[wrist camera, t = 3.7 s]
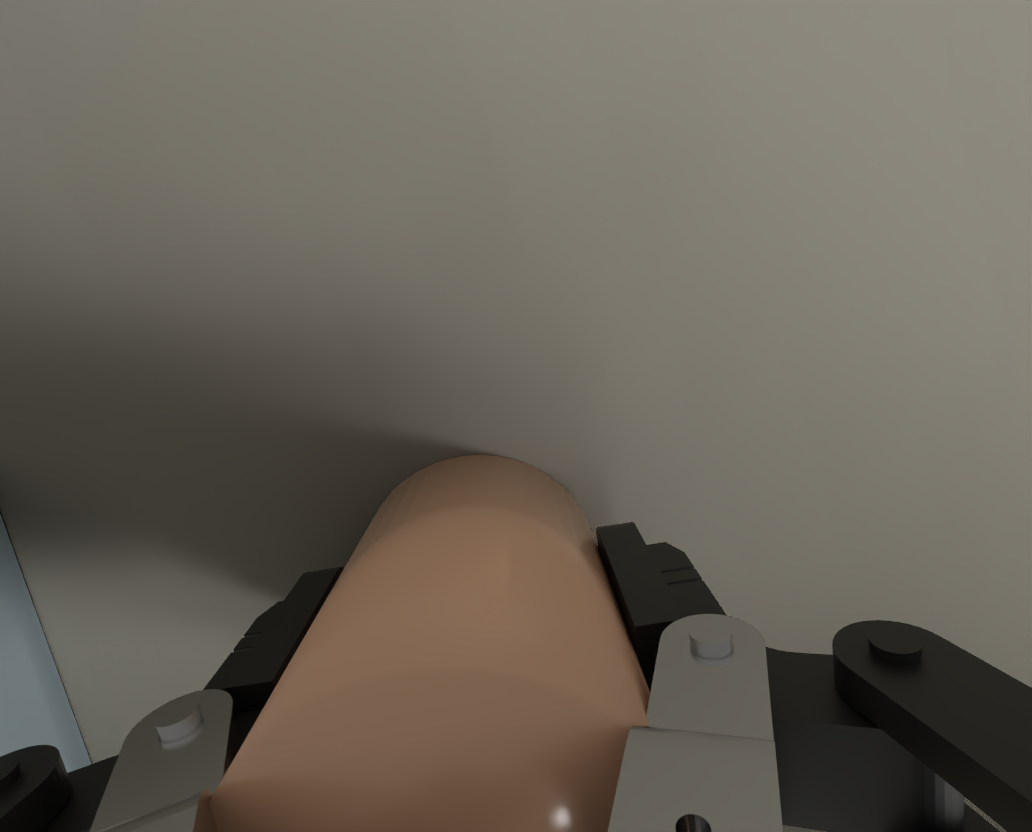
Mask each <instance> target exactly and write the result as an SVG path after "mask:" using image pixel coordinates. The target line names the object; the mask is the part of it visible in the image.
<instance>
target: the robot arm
mask: <svg viewBox="0 0 1032 832" xmlns="http://www.w3.org/2000/svg"><path fill="white" fill-rule="evenodd" d="M596 533H597V542H598V549H599V551H600V554H601V557H602V560H603V563H604V566H605V568H606V571H607V574H608V577H609V580H610V582H611V585H612V588H613V591H614V594H615V596H616V599H617V602H618V605H619V608H620V610H621V613H622V616H623V619H624V622H625V624H626V627H627V630H628V633H629V636H630V638H631V641H632V644H633V647H634V650H635V652H636V655H637V658H638V661H639V664H640V666H641V669H642V672H643V675H644V677H645V680H646V683H647V686H648V688H649V691H650V698H649V703H648V709H647V714H646V717H647V720H648V723H649V726H650V727H649V726H640V725H632V726H631V728H630V730H629V733H628V737H627V741H626V746H625V751H624V756H623V760H622V765H621V770H620V775H619V779H618V784H617V789H616V794H615V798H614V803H613V808H612V813H611V818H610V822H609V827H608V832H783V826H782V825H788V826H795V827H801V828H808V829H815V830H821V831H828V832H1000V831H998V830H997V829H996V828H995V827H994V826H992V825H991V824H990V823H989V822H987V821H986V820H985V819H984V818H983V817H981V816H980V815H979V814H978V813H976V812H975V811H974V810H973V809H972V808H970V807H969V806H968V805H967V804H965V803H964V796H965V797H966V798H967V799H968V800H970V801H971V802H972V803H973V804H974V805H976V806H977V807H978V808H979V809H981V810H982V811H983V812H984V813H986V814H987V815H988V816H989V817H991V818H992V819H993V820H994V821H996V822H997V823H998V824H999V825H1001V826H1002V827H1003V828H1004V829H1005V830H1006V831H1007V832H1032V688H1031V687H1029V686H1027V685H1025V684H1023V683H1022V682H1020V681H1018V680H1016V679H1015V678H1013V677H1011V676H1009V675H1008V674H1006V673H1004V672H1002V671H1000V670H999V669H997V668H995V667H993V666H992V665H990V664H988V663H986V662H984V661H983V660H981V659H979V658H977V657H976V656H974V655H972V654H970V653H968V652H967V651H965V650H963V649H961V648H960V647H958V646H956V645H954V644H952V643H951V642H949V641H947V640H945V639H944V638H942V637H940V636H938V635H936V634H934V633H932V632H930V631H927V630H925V629H922V628H920V627H916V626H913V625H909V624H905V623H900V622H893V621H881V620H875V621H863V622H857V623H853V624H850V625H848V626H846V627H844V628H842V629H841V630H839V631H838V632H837V633H836V634H835V636H834V638H833V644H832V647H833V655H825V654H808V653H794V652H785V651H780V650H775V649H772V648H768V647H765V642H764V639H763V637H762V635H761V634H760V633H759V631H758V630H757V629H755V628H754V627H753V626H752V625H750V624H748V623H746V622H745V621H742V620H740V619H737V618H734V617H730V616H727V615H726V614H725V612H724V611H723V609H722V608H721V606H720V605H719V603H718V602H717V600H716V599H715V597H714V596H713V594H712V593H711V591H710V590H709V588H708V587H707V585H706V584H705V582H704V581H702V578H701V577H700V575H699V574H698V572H697V571H696V569H694V566H693V565H692V563H691V562H690V560H689V559H688V557H687V556H686V554H685V553H684V552H683V551H681V550H679V549H677V548H675V547H673V546H672V545H670V544H668V543H666V542H664V543H657V544H651V545H646V544H645V542H644V540H643V538H642V536H641V534H640V533H639V531H638V529H637V527H636V525H635V524H634V522H630V523H624V524H617V525H611V526H604V527H598V528H597V529H596ZM343 569H344V568H343V567H338V568H332V569H325V570H319V571H313V572H306V573H304V574H303V575H302V576H301V577H300V579H299V580H298V582H297V583H296V584H295V586H294V587H293V589H292V590H291V592H290V593H289V594H288V596H287V597H286V599H285V600H284V601H280V602H278V603H276V604H275V605H274V606H272V607H271V608H270V609H268V610H267V611H266V612H264V613H263V614H262V615H260V616H259V617H258V618H257V619H256V620H255V621H254V623H253V624H252V625H251V627H250V628H249V629H248V631H247V632H246V633H245V635H244V636H245V637H244V638H242V639H241V640H240V641H239V643H238V644H237V645H236V647H235V648H234V653H230V655H229V656H228V657H227V659H226V660H225V661H224V663H223V664H222V665H221V667H220V668H219V669H218V671H217V672H216V673H215V675H214V676H213V677H212V679H211V680H210V681H209V683H208V684H207V685H206V687H205V688H204V689H203V690H201V691H196V692H193V693H189V694H186V695H184V696H181V697H178V698H176V699H174V700H172V701H170V702H168V703H166V704H164V705H162V706H160V707H159V708H157V709H156V710H154V711H153V712H151V713H150V714H148V715H147V716H146V717H144V718H143V719H142V720H141V721H140V722H139V723H137V724H136V726H135V727H134V728H133V729H132V730H131V731H130V732H129V734H128V735H127V737H126V739H125V741H124V743H123V745H122V748H121V751H120V753H119V755H117V756H114V757H111V758H108V759H105V760H102V761H100V762H97V763H94V764H91V765H88V766H85V767H83V768H80V769H77V770H74V771H71V772H68V773H67V771H66V768H65V765H64V763H63V760H62V757H61V755H60V752H59V750H58V749H57V748H56V747H54V746H52V745H36V746H30V747H26V748H22V749H19V750H16V751H13V752H10V753H8V754H6V755H3V756H1V757H0V832H218V829H217V826H216V823H215V820H214V817H213V814H212V811H211V808H210V801H211V799H212V796H213V794H214V793H215V791H216V789H217V787H218V786H219V784H220V782H221V781H222V779H223V777H224V775H225V774H226V772H227V770H228V768H229V767H230V765H231V763H232V761H233V760H234V758H235V756H236V755H237V753H238V751H239V749H240V748H241V746H242V744H243V742H244V741H245V739H246V737H247V735H248V734H249V732H250V730H251V729H252V727H253V725H254V723H255V722H256V720H257V718H258V716H259V715H260V713H261V711H262V709H263V708H264V706H265V704H266V703H267V701H268V699H269V697H270V696H271V694H272V692H273V690H274V689H275V687H276V685H277V683H278V682H279V680H280V678H281V677H282V675H283V673H284V671H285V670H286V668H287V666H288V664H289V663H290V661H291V659H292V658H293V656H294V654H295V652H296V651H297V649H298V647H299V645H300V644H301V642H302V640H303V638H304V637H305V635H306V633H307V632H308V630H309V628H310V626H311V625H312V623H313V621H314V619H315V618H316V616H317V614H318V612H319V611H320V609H321V607H322V606H323V604H324V602H325V600H326V599H327V597H328V595H329V593H330V592H331V590H332V588H333V586H334V585H335V583H336V581H337V580H338V578H339V576H340V574H341V573H342V571H343Z"/></svg>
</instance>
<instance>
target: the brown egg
mask: <svg viewBox="0 0 1032 832" xmlns="http://www.w3.org/2000/svg"><path fill="white" fill-rule="evenodd" d="M649 698H650V691H649V688H648V686H647V683H646V680H645V677H644V675H643V672H642V669H641V666H640V664H639V661H638V658H637V655H636V652H635V650H634V647H633V644H632V641H631V638H630V636H629V633H628V630H627V627H626V624H625V622H624V619H623V616H622V613H621V610H620V608H619V605H618V602H617V599H616V596H615V594H614V591H613V588H612V585H611V582H610V580H609V577H608V574H607V571H606V568H605V566H604V563H603V560H602V557H601V554H600V551H599V549H598V546H597V543H596V540H595V537H594V534H593V532H592V529H591V526H590V524H589V521H588V519H587V518H586V516H585V514H584V512H583V510H582V508H581V507H580V506H579V504H578V503H577V502H576V500H575V499H574V497H573V496H572V495H571V494H570V493H569V492H568V491H567V490H566V489H565V488H564V487H563V486H562V485H561V484H559V483H558V482H557V481H556V480H554V479H553V478H552V477H551V476H549V475H547V474H546V473H544V472H542V471H541V470H539V469H537V468H535V467H533V466H531V465H528V464H526V463H524V462H521V461H517V460H514V459H510V458H506V457H500V456H494V455H467V456H458V457H454V458H450V459H445V460H442V461H439V462H437V463H434V464H431V465H429V466H427V467H425V468H423V469H421V470H419V471H417V472H415V473H414V474H412V475H411V476H410V477H408V478H407V479H405V480H404V481H403V482H401V483H400V484H399V485H398V486H397V487H396V488H395V489H394V490H393V491H392V492H391V493H390V494H389V495H388V497H387V498H386V499H385V500H384V501H383V503H382V504H381V506H380V507H379V509H378V511H377V512H376V514H375V515H374V517H373V519H372V521H371V522H370V524H369V526H368V528H367V529H366V531H365V533H364V534H363V536H362V538H361V540H360V541H359V543H358V545H357V547H356V548H355V550H354V552H353V554H352V555H351V557H350V559H349V560H348V562H347V564H346V566H345V567H344V569H343V571H342V573H341V574H340V576H339V578H338V580H337V581H336V583H335V585H334V586H333V588H332V590H331V592H330V593H329V595H328V597H327V599H326V600H325V602H324V604H323V606H322V607H321V609H320V611H319V612H318V614H317V616H316V618H315V619H314V621H313V623H312V625H311V626H310V628H309V630H308V632H307V633H306V635H305V637H304V638H303V640H302V642H301V644H300V645H299V647H298V649H297V651H296V652H295V654H294V656H293V658H292V659H291V661H290V663H289V664H288V666H287V668H286V670H285V671H284V673H283V675H282V677H281V678H280V680H279V682H278V683H277V685H276V687H275V689H274V690H273V692H272V694H271V696H270V697H269V699H268V701H267V703H266V704H265V706H264V708H263V709H262V711H261V713H260V715H259V716H258V718H257V720H256V722H255V723H254V725H253V727H252V729H251V730H250V732H249V734H248V735H247V737H246V739H245V741H244V742H243V744H242V746H241V748H240V749H239V751H238V753H237V755H236V756H235V758H234V760H233V761H232V763H231V765H230V767H229V768H228V770H227V772H226V774H225V775H224V777H223V779H222V781H221V782H220V784H219V786H218V787H217V789H216V791H215V793H214V794H213V796H212V799H211V801H210V808H211V811H212V814H213V817H214V820H215V823H216V826H217V829H218V832H608V827H609V822H610V818H611V813H612V808H613V803H614V798H615V794H616V789H617V784H618V779H619V775H620V770H621V765H622V760H623V756H624V751H625V746H626V741H627V737H628V733H629V730H630V728H631V726H632V725H640V726H649V723H648V720H647V717H646V714H647V709H648V703H649ZM649 727H650V726H649Z"/></svg>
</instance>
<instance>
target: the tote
mask: <svg viewBox="0 0 1032 832" xmlns="http://www.w3.org/2000/svg"><path fill="white" fill-rule="evenodd" d="M36 745H52V746H54V747H56V748H57V749H58V750H59V752H60V755H61V757H62V760H63V763H64V765H65V768H66V771H67V773H68V772H71V771H74V770H77V769H80V768H83V767H85V766H88V765H91V761H90V758H89V756H88V753H87V750H86V747H85V745H84V742H83V739H82V736H81V734H80V731H79V728H78V725H77V723H76V720H75V717H74V715H73V712H72V709H71V706H70V704H69V701H68V698H67V695H66V693H65V690H64V687H63V684H62V682H61V679H60V676H59V673H58V671H57V668H56V665H55V663H54V660H53V657H52V654H51V652H50V649H49V646H48V643H47V641H46V638H45V635H44V632H43V630H42V627H41V624H40V621H39V619H38V616H37V613H36V610H35V608H34V605H33V602H32V600H31V597H30V594H29V591H28V589H27V586H26V583H25V580H24V578H23V575H22V572H21V569H20V567H19V564H18V561H17V558H16V556H15V553H14V550H13V548H12V545H11V542H10V539H9V537H8V534H7V531H6V528H5V526H4V523H3V520H2V517H1V515H0V757H1V756H3V755H6V754H8V753H10V752H13V751H16V750H19V749H22V748H26V747H30V746H36Z"/></svg>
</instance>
